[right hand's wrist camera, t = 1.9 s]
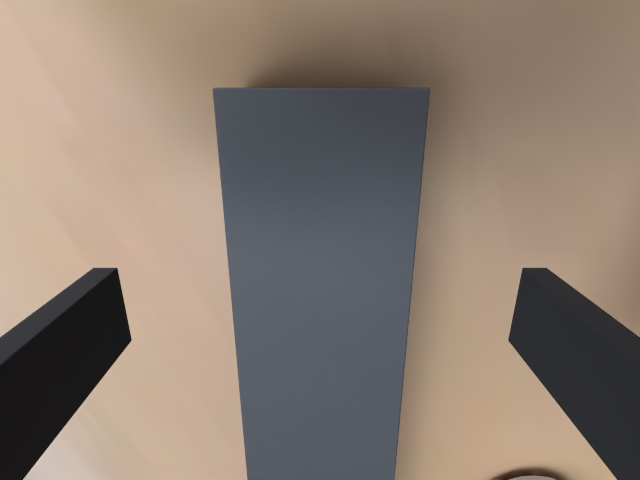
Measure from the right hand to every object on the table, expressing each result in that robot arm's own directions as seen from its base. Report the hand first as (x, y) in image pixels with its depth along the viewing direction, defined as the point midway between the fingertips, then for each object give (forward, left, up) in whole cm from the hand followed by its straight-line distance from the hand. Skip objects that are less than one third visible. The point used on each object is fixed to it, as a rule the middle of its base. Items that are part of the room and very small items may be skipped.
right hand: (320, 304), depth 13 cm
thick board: (-3, +28, -14) cm, 31 cm away
